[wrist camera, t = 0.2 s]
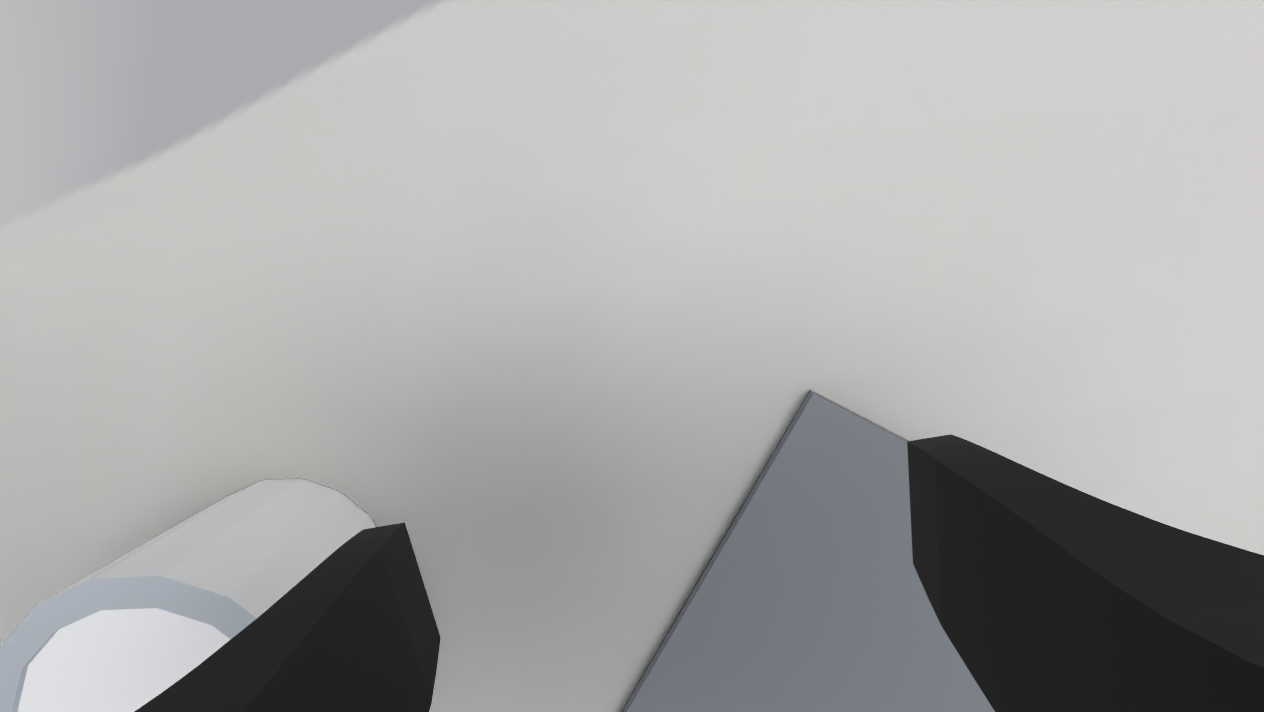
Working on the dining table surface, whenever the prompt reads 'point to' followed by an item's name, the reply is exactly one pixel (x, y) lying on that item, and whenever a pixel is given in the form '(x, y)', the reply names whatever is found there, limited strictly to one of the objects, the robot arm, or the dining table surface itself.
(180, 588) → the shot glass
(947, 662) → the slate mat
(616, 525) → the dining table surface
